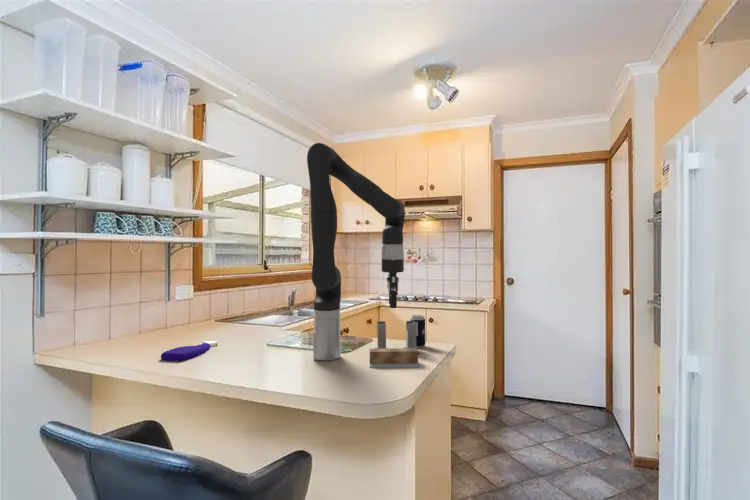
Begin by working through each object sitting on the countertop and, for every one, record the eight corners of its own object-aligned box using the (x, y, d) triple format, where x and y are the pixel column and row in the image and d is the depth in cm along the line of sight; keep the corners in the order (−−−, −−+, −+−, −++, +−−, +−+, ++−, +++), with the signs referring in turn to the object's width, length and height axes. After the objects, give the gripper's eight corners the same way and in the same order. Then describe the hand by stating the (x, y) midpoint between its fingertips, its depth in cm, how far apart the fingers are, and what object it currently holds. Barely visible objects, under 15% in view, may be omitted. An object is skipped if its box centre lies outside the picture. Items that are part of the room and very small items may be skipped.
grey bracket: (405, 355, 146) (405, 324, 145) (403, 349, 154) (403, 320, 154) (419, 354, 146) (419, 324, 146) (416, 348, 154) (416, 320, 154)
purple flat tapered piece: (184, 354, 140) (224, 339, 164) (157, 353, 142) (200, 338, 166) (184, 362, 140) (224, 346, 164) (157, 361, 142) (200, 345, 166)
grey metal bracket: (375, 355, 145) (374, 325, 145) (374, 349, 154) (374, 320, 154) (388, 355, 145) (388, 324, 145) (387, 349, 154) (387, 320, 154)
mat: (369, 367, 131) (369, 365, 131) (369, 360, 139) (369, 359, 139) (418, 367, 131) (418, 365, 131) (415, 360, 139) (415, 358, 139)
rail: (369, 364, 133) (369, 351, 133) (369, 360, 137) (369, 348, 137) (418, 363, 133) (418, 351, 133) (416, 359, 137) (416, 348, 137)
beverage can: (424, 348, 154) (424, 317, 154) (410, 348, 156) (409, 317, 156) (425, 345, 160) (425, 314, 160) (411, 344, 161) (411, 314, 161)
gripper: (381, 257, 143) (381, 303, 143) (381, 258, 129) (381, 309, 129) (402, 257, 143) (402, 303, 143) (405, 258, 129) (405, 309, 129)
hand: (392, 305), depth 136 cm, fingers open, 8 cm apart
